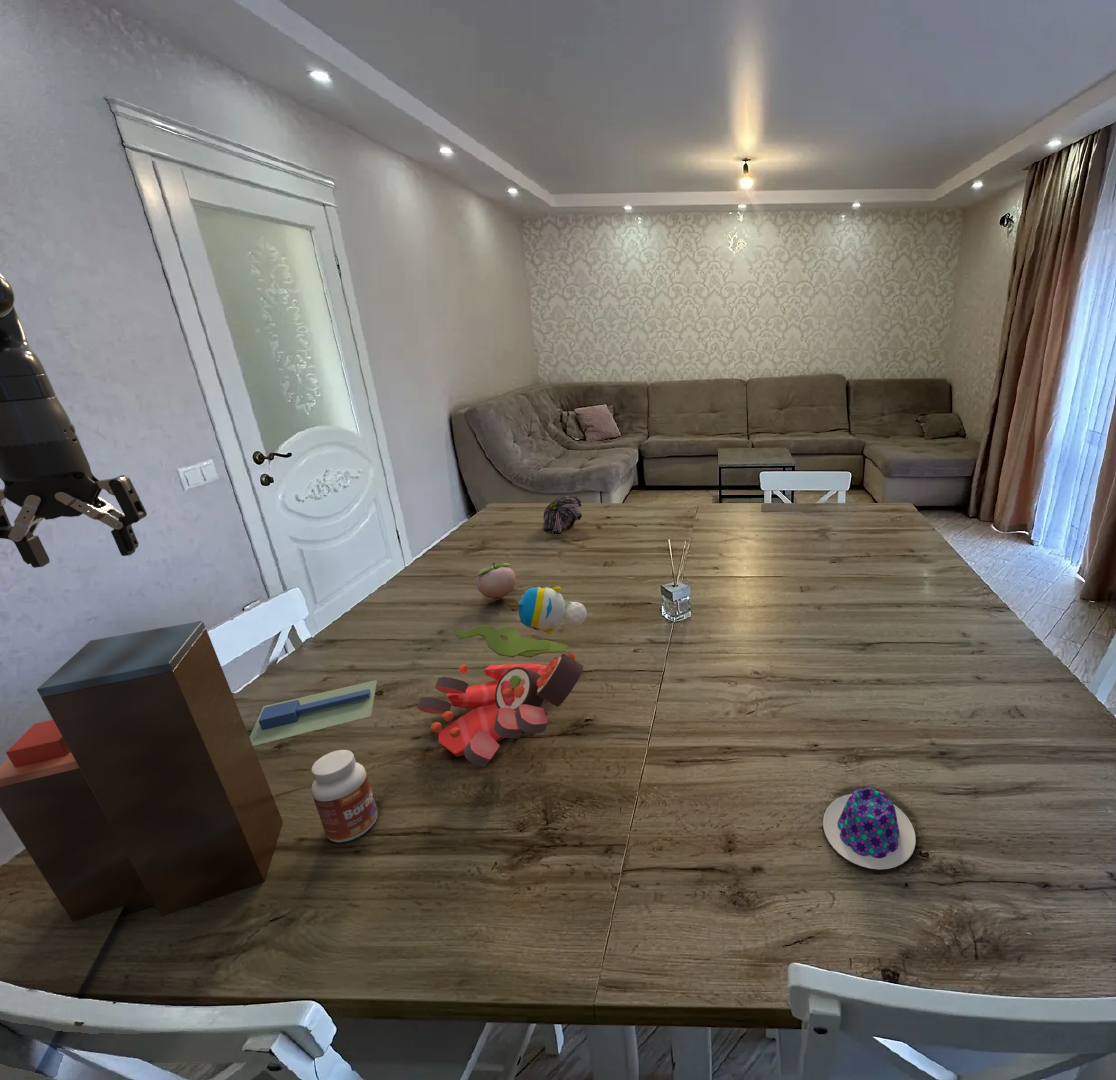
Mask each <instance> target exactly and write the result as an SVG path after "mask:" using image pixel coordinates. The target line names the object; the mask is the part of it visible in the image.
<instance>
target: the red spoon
mask: <svg viewBox="0 0 1116 1080" xmlns="http://www.w3.org/2000/svg"><path fill="white" fill-rule="evenodd" d="M69 752H70V750H69V748H68V746H67V744H66V742H65V741H64V739H63V737H62V735H61V733H60V731H59V730H58V728H57V726H56V724H55V722H54V720H53V719H50V720H49V719H48V720H45V721H40V722H36V723H34V724H32V725H31V726H30V728H29V729H28V730H27V731H26V732H25V733H24V734H22V735H21V737H20V738H19V739H17V741H16V742H15V743H14V744H12V746H11V747H9V748H8V750H6V752H5V754H6V756H7V757H8V758H9V759H10V760H11V762H12V764H13V765H14V767H18V766H23V765H27V764H31V763H35V762H40V761H44V760H48V759H53V758H57V757H61V756H65V755H67V754H68V753H69Z"/></svg>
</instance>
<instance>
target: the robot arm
mask: <svg viewBox="0 0 1116 1080" xmlns="http://www.w3.org/2000/svg"><path fill="white" fill-rule="evenodd" d="M15 296H16V295H15V291H14V289H13V287H12V285H11V284H10V281H8V279H7V278H6V277H5V276H4V275H3V274H2V273H1V272H0V480H1V481H2V482H3V484H4V487H3V488H0V539H3V540H9V541H12V543H14V545H15V547H16V549H17V551H18V553H19V554H20V556H21V559H22V561H23V562H24V563H25V564H26V565H30V566H31V567H32V568H33V569H35V568H36V569H37V568H43V567H45V566H47V565H48V564H50V561H51V560H50V557H49V555H48V553H47V551H46V549H45V547H44V544H43V543H42V541H41V539H40V537H39V535H34V534H35V532H36V530H37V528H38V527H39V525H40V523H41V522H42V521H43V520H44V519H45V521H47V520H55V519H58V518H61V517H65V518H74V517H81V516H82V515H85V516H87V517H88V518H91V519H92V520H95V521H98V522H101V523H103V524H104V525H106V526H107V527H109V528H111V529H112V530H110V533H111V535H112V537H113V540H114V542H115V544H116V546H117V549H118V551H119V553H120V555H121V556H122V557H128V556H131V555H133V554H134V553H135V552H136V549H138V548H139V544H140V543H139V541H138V539H137V537H136V533H135V531H134V529H133V524H136V523H138V522H139V521H141V520H142V519H144V518H146V517H147V516H148V513H147V511H146V509H145V506H144V505H143V503H142V501H141V498H140V497H139V494H138V492H137V490H136V488H135V486H134V485H133V483H132V482H133V481H132V480H131V478H130V477H129V476H127V475H125V474H121V475H118V476H115V477H113V478H105V479H98V478H97V477H96V476H95V475H94V474H93V472H92V469H91V464H90V463H89V461H88V458H87V456H86V454H85V451H84V449H83V446H82V444H81V442H80V439H79V437H78V435H77V433H76V432H77V430H76V427H75V425H74V424H73V423H72V422H71V419H70V417H69V415H68V413H67V411H66V410H65V408H64V406H63V405H62V403H61V402H60V400H59V398H58V396H57V393H56V391H55V390H54V387H53V384H52V383H51V382H52V381H51V380H50V377H49V375H48V373H47V371H46V369H45V367H44V365H43V363H42V361H41V360H40V358H39V356H38V355H37V354H36V353H35V351H34V350H33V349H32V347H31V346H30V344H29V341H28V338H27V336H26V333H25V331H24V328H23V326H22V323H21V321H20V318H19V315H18V313H17V310H16V307H15V302H16V297H15ZM102 490H105V491H106V492H107V493H108V494H109V495H111V496H114V497H115V500H116V501H117V503H118V505H119V507H120V510H121V511H120V510H118V509H117V508H116V507H115V505H113V504H112V503H110V502H109V501H107V500H105V499H103V498H102V497H100V494H101V492H102ZM6 499H7V500H8V501H10V502H11V503H13V504H15V505H16V506H18V507H20V508H21V509H20V510H19V512H18V514H17V516H16V517H15V519H14V521H13V526H12V525H11V522H10V519H9V517H8V515H7V512H6V509H5V508H4V507H5V506H4V505H6V503H7V500H6Z"/></svg>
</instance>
